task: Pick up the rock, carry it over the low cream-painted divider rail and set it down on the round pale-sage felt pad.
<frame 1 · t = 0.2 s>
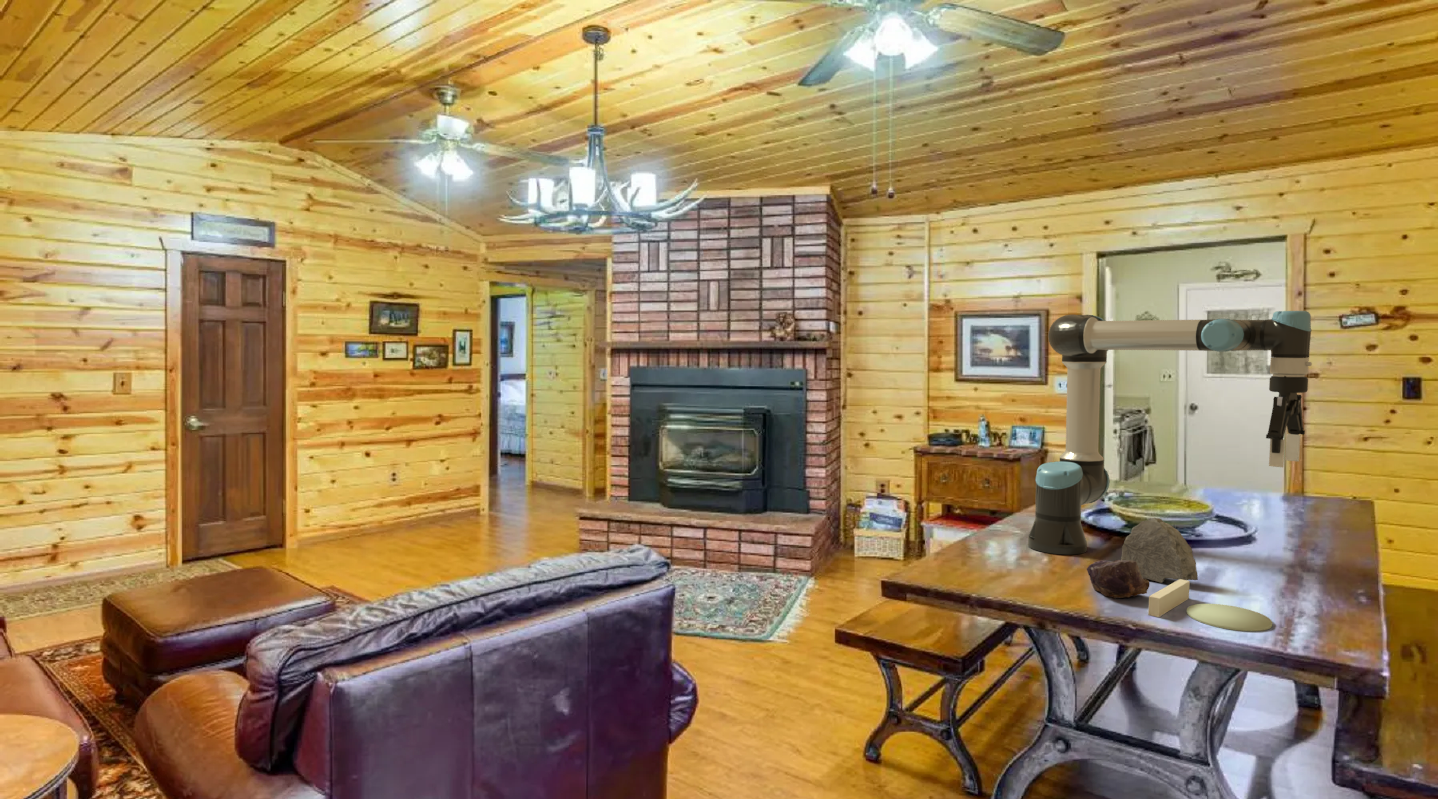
hand: (1284, 463, 194), 28 cm above the table, fingers open, 13 cm apart
decorative rock: (1157, 580, 194), on the table
felt pad: (1228, 618, 167), on the table
divider rail: (1169, 606, 174), on the table
rock: (1115, 596, 182), on the table
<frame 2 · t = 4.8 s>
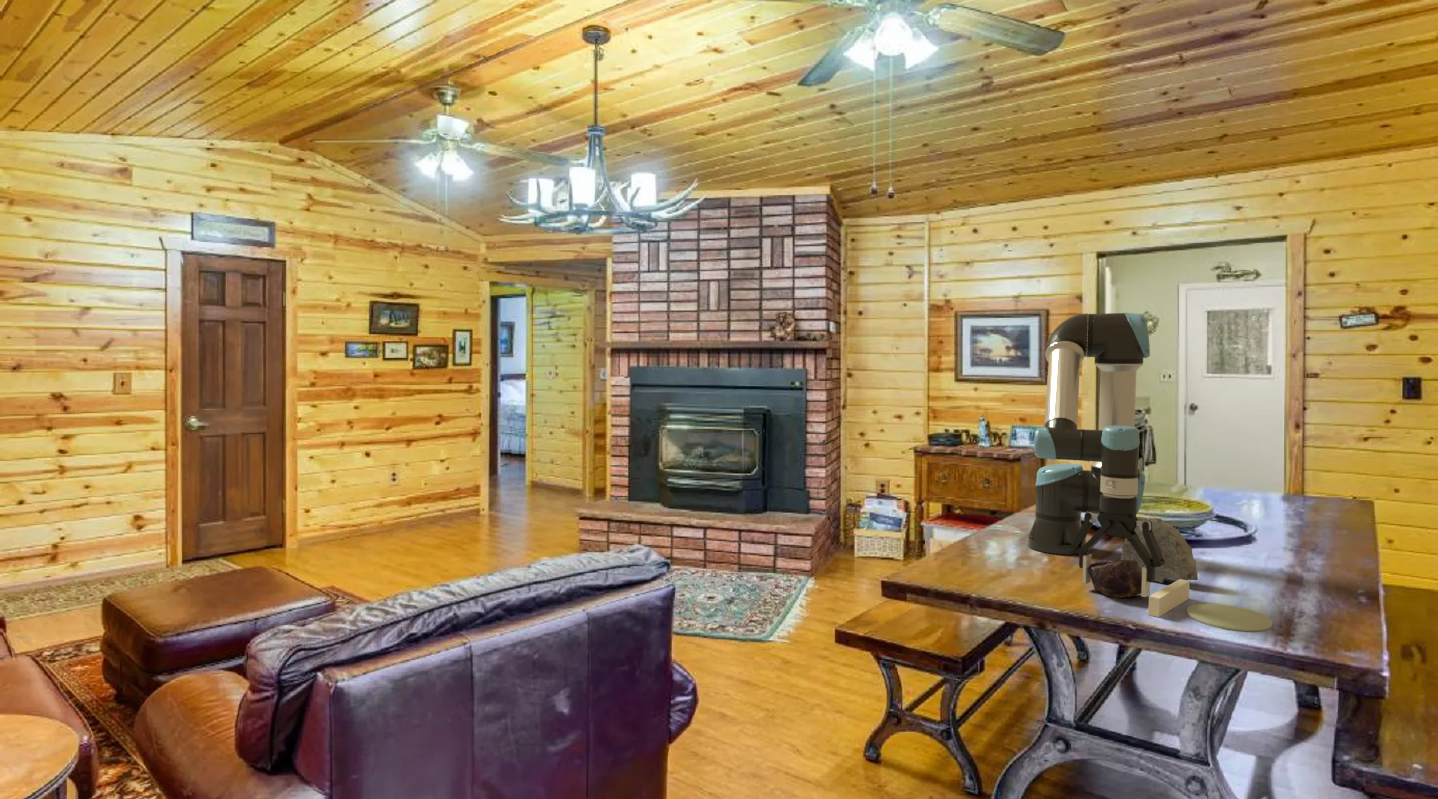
hand: (1115, 589, 182), 2 cm above the table, fingers closed on rock, 12 cm apart
rock: (1115, 596, 182), on the table, touching gripper
everything else where it was.
when the fingers open (3 cm above the table, at t = 11.2 s): rock moves 1 cm, resting on felt pad.
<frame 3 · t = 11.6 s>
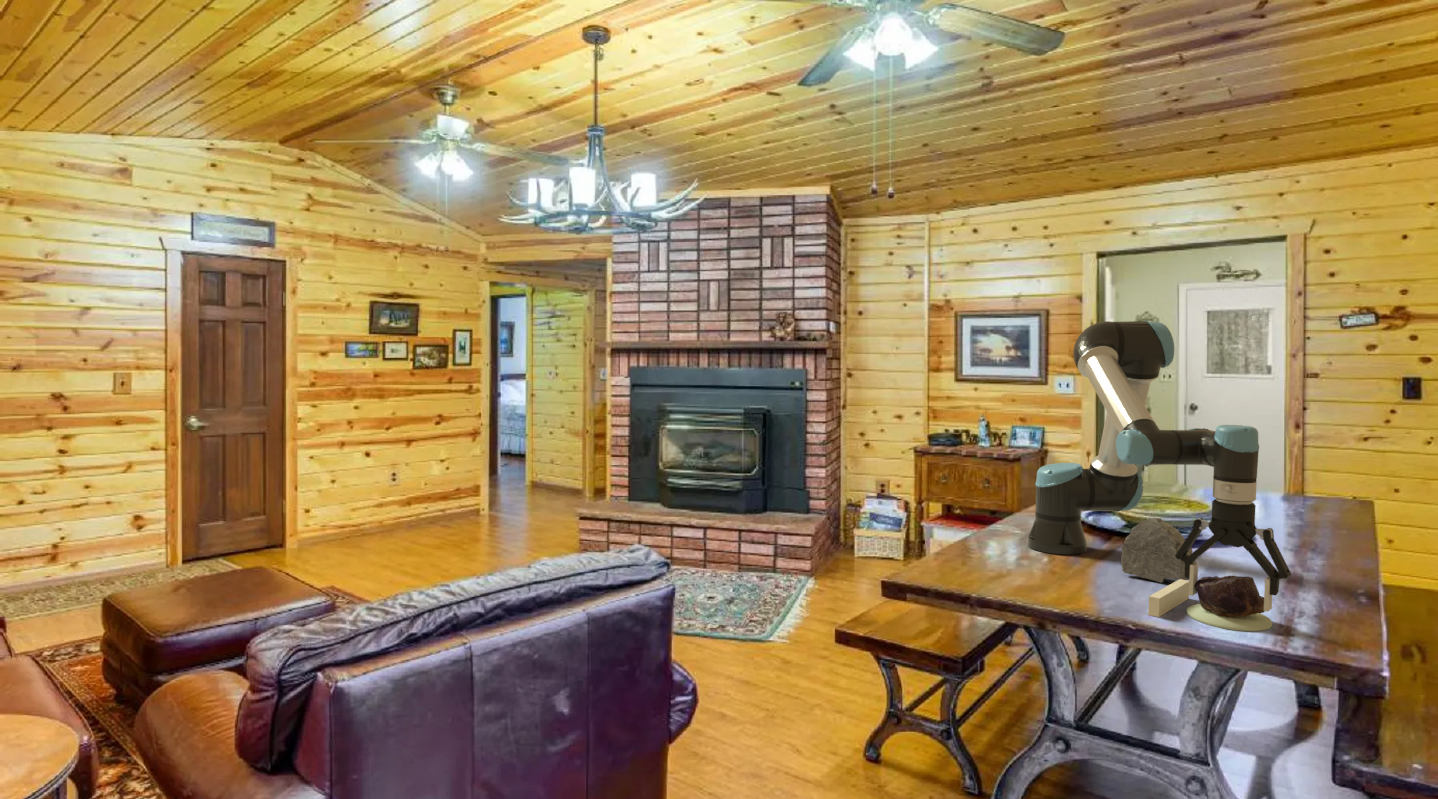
hand: (1229, 601, 167), 4 cm above the table, fingers open, 13 cm apart
rock: (1227, 615, 167), resting on felt pad
everything else where it was.
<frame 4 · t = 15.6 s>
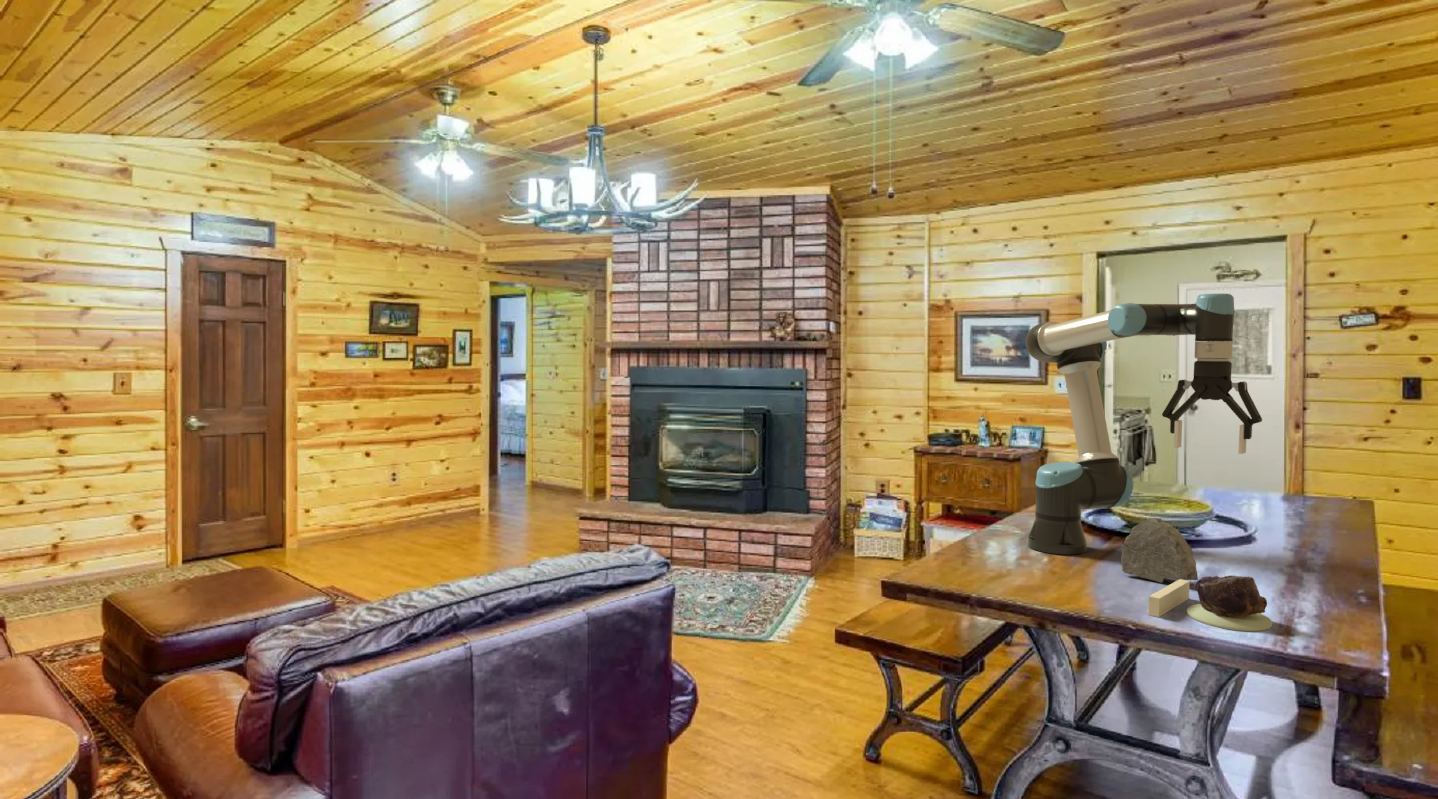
hand: (1208, 450, 189), 32 cm above the table, fingers open, 13 cm apart
nothing on the table moved.
at the end: rock 0.4 cm from the felt pad (horizontally); rock on the table; rock touching felt pad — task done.
